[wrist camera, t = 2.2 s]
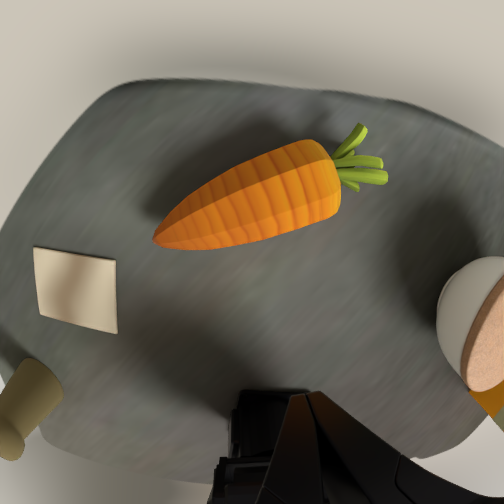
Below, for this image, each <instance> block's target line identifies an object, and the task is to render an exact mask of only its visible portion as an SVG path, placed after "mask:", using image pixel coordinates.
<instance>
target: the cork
mask: <svg viewBox="0 0 504 504" xmlns="http://www.w3.org/2000/svg"><path fill="white" fill-rule="evenodd" d="M63 398H64V392H63V389H62V386H61V384H60V382H59V381H58V379H57V377H56V376H55V375H54V374H53V373H52V372H51V370H49V369H48V368H47V367H46V366H45V365H44V364H42V363H41V362H39V361H37V360H35V359H32V358H25V359H24V360H23V361H22V362H21V363H20V365H19V366H18V368H17V369H16V371H15V372H14V374H13V375H12V377H11V378H10V380H9V381H8V383H7V385H6V386H5V388H4V389H3V391H2V393H1V394H0V457H2V458H4V459H6V460H9V461H14V460H17V459H19V458H20V457H21V455H22V453H23V451H24V447H25V443H24V439H25V438H26V437H27V436H28V435H29V434H30V433H31V432H32V431H33V430H34V429H35V428H36V427H37V426H38V425H39V424H40V423H41V422H42V421H43V419H44V418H45V417H46V416H47V415H48V414H49V413H50V412H51V411H52V410H53V409H54V408H55V407H56V406H57V405H58V404H59V403H60V402H61V401H62V399H63Z"/></svg>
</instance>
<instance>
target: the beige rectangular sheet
mask: <svg viewBox="0 0 504 504" xmlns="http://www.w3.org/2000/svg"><path fill="white" fill-rule="evenodd" d="M33 253H34V268H35V279H36V288H37V297H38V304H39V311H40V314H41V315H44V316H48V317H51V318H55V319H58V320H62V321H65V322H69V323H72V324H76V325H80V326H84V327H88V328H92V329H96V330H100V331H104V332H109V333H113V334H117V333H118V325H117V306H116V260H110V259H103V258H97V257H91V256H85V255H79V254H73V253H67V252H61V251H55V250H50V249H44V248H38V247H34V248H33Z"/></svg>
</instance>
